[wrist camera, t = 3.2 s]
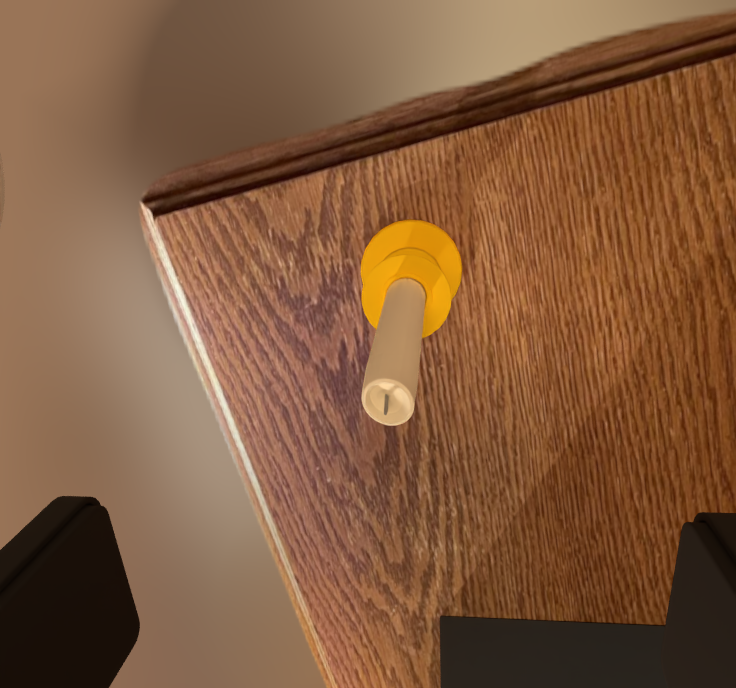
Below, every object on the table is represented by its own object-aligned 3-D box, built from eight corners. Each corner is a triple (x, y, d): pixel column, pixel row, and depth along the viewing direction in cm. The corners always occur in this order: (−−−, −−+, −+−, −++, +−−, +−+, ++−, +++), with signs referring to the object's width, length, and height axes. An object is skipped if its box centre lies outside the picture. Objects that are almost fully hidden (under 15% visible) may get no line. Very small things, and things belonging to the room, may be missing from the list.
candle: (380, 328, 30) (329, 514, 15) (347, 238, 28) (255, 351, 14) (473, 300, 28) (512, 474, 14) (444, 204, 27) (455, 290, 12)
